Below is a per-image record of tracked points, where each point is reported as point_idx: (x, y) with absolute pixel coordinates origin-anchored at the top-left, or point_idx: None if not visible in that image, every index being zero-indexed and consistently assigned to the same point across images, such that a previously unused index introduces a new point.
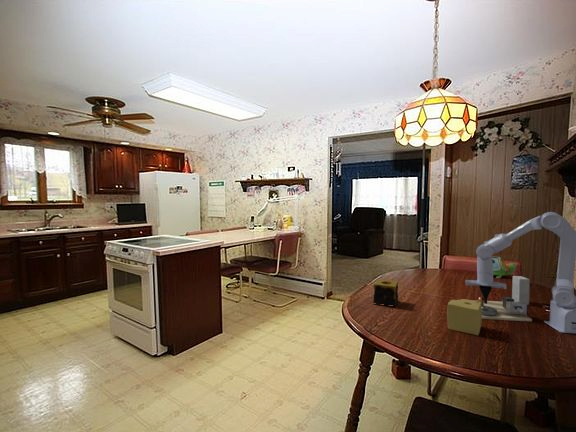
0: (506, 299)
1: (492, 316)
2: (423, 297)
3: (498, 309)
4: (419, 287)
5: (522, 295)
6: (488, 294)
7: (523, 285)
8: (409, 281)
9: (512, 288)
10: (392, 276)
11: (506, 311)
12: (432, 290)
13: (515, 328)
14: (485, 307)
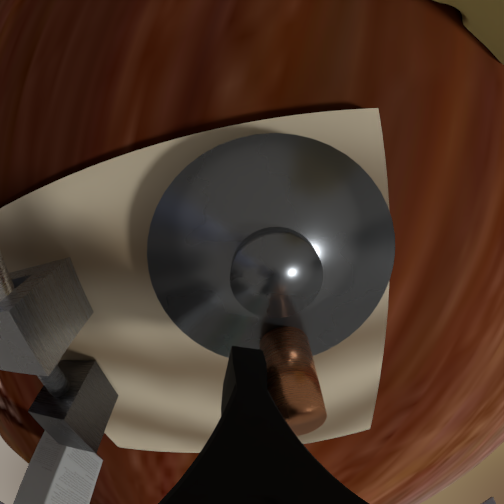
0: (64, 416)
1: (217, 145)
2: (488, 390)
3: (140, 352)
4: (429, 467)
5: (50, 460)
6: (209, 447)
7: (33, 496)
8: (424, 485)
9: (89, 500)
10: (444, 485)
11: (87, 310)
12: (402, 469)
13: (100, 10)
14: (267, 264)
